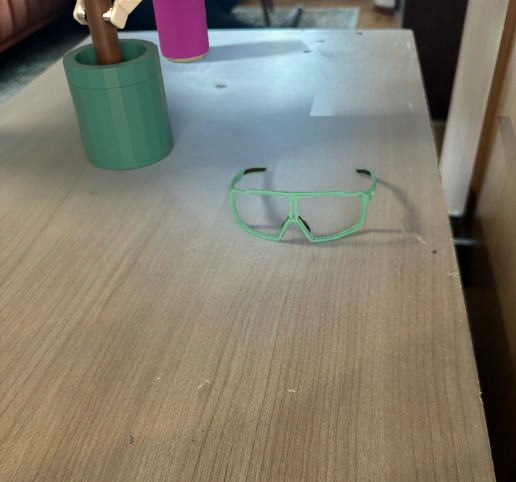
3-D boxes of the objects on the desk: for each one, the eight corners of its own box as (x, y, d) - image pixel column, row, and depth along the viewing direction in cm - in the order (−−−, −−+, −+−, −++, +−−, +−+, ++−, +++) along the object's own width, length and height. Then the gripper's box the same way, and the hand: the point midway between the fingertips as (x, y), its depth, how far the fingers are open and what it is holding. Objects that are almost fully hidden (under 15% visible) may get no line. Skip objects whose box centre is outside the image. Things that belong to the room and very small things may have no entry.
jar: (74, 169, 74) (47, 70, 66) (104, 132, 81) (83, 39, 74) (159, 170, 72) (141, 68, 65) (183, 132, 79) (168, 37, 72)
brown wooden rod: (102, 134, 74) (53, -70, 61) (113, 120, 77) (69, -78, 64) (135, 134, 73) (93, -72, 60) (145, 120, 76) (107, -80, 63)
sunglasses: (217, 243, 59) (212, 192, 56) (248, 182, 71) (245, 137, 68) (372, 249, 57) (375, 195, 54) (376, 185, 69) (379, 138, 66)
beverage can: (214, 59, 99) (204, -29, 91) (165, 67, 98) (151, -22, 90) (205, 45, 105) (196, -39, 97) (159, 52, 104) (145, -33, 96)
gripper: (44, -127, 68) (6, -1, 69) (202, -131, 60) (157, 13, 60) (83, -84, 74) (47, 31, 75) (233, -82, 66) (191, 48, 66)
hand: (97, 23), depth 67 cm, fingers closed on brown wooden rod, 3 cm apart
